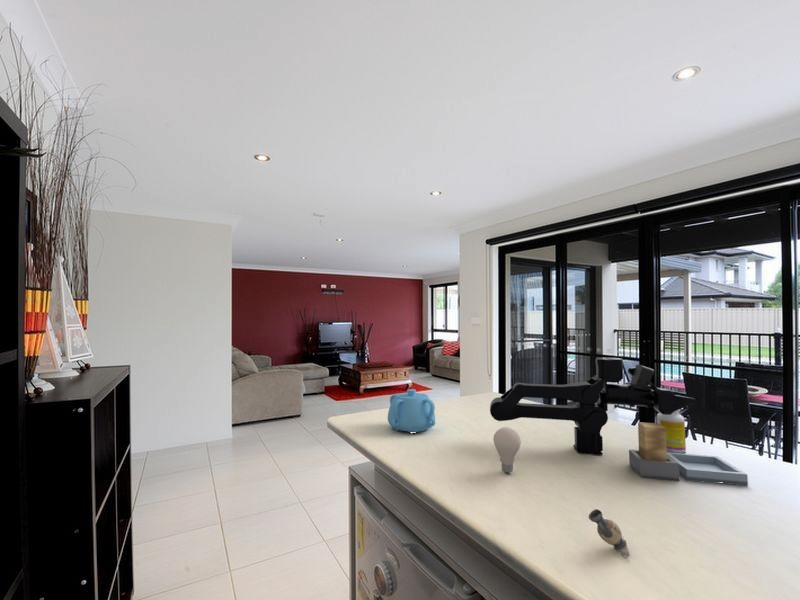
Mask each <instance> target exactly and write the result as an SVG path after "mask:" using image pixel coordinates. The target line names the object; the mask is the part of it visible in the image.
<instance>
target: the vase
mask: <svg viewBox="0 0 800 600" xmlns="http://www.w3.org/2000/svg"><path fill="white" fill-rule="evenodd" d="M588 519H589V520H590V522H594V523H596V525H597V527H596V530H597V533H598V536H599V537H600V539H601V540H603V541H604V542H605V544H606V543H607V544H608V545H611V546H613V548H614V550H615V551H617V552H618V553H619V552H620V553H622V554H624V555H622V554H620V553H619V554H620V555H619V557H620V556H621V559H622V560H623V557H624V556H625V557H624V558H631V555H630V551H629V549H628V545H627V544H628V543H627V541H626V539H625V537H624V536H623V533H622V530H621V528H620V527H619V525H618V524H617V523H616V521H615V522H614V520H611V519H608V518H607V519H605V518H604V517H603V513H602V511H601V510H599V509H596V508H595V509H593V510H592V511H590V513H589V514H588Z"/></svg>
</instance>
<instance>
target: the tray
mask: <svg viewBox="0 0 800 600" xmlns="http://www.w3.org/2000/svg"><path fill="white" fill-rule="evenodd" d="M667 455H668V456H670V457H671V458H672V459H673V460H675V461H676V462H677V463H679V476H681V477H682V478H684V479H685V480H686V481H692V482H693V481H694V482H701V481H704V482H703V483H713V482H723V483H722V484H724V483H732V484H731V485H735V484H739V485H738V486H746V485H748V486H749V480H748V474H747V473H746V472H744V471H743V470H741V469H739V468H737V467H736V466H734V465H732V464H731V463H730V462H727V461H726V460H724V459H723V458H721V457H720V456H717V455H703V454H694V453H693V454H692V453H671V452H667Z"/></svg>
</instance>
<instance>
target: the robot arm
mask: <svg viewBox="0 0 800 600" xmlns="http://www.w3.org/2000/svg"><path fill="white" fill-rule="evenodd" d="M623 361H624V360H623V358H622V357H621V358H619V357H602V358H595V367H596V375H593V376H592V377H590V378H589V379H587V380H586V381H576V382H570V383H566V384H551V383H550V384H548V383H544V384H543V383H526V382H525V383H523V382H515V383H514V384H513V386H512V387H511V388H509V389H508V390H506V392H504V393H503V394H502V395H501V396H499V397H494V398H493V399H492V400H491V402H490V406H489V412H490V413H489V414H490V415H491V417H492V418H493V419H494V421H495V420H496V421H498V422H506V421H512V420H516V419H521V418H523V419H525V418H526V419H540V420H541V419H542V420H559V421H571V422H574V424H575V426H574V428H573V429H574V444H573V445H572V446H573V448H574V449H575V451H576V453H577V454H583V455H596V456H603V450H604V447H603V446H604V443H603V435H602V434H601V430H602V429H603V427H604V426H605V425H606V424H607V422H609V421H608V420H609V416H608V413H607V412H608V405H615V406H616V405H619V406H629V407H630V408H635V407H636V406H638V407H645V408H647V409H648V408H649V409H651V408H653V409H654V410H656V412H658V413H661V414H665V415H671V414H672V413H673V412H674V411H677V410H679V409H680V410H681V409H683V408H687V407H689V406H691V405H694V404H696V400H697V399H696V398H694V397H688V396H683V395H680V393H679V392H678V391H674V390H670V389H668V388H661V387H656V385H654V384H653V383H652V382H651V380H652V377H653V376H654V374H655V370H654V369H653V368H650V367H647V366H644V365H642V364H635V365H634V366H633V367H631V366H630V367H628V370H627V373H628V374H629V375H630V379H631V380H630V382H626V381H625V383H624V384H620V382H622V380H623V379H624V366H623V365H624V363H623ZM524 398H530V399H531V398H532V399H534V398H535V399H553V400H554V399H555V400H556V399H557V400H566V401H570V402H573V403H575V404H572V405H563V404H561V405H560V404H543V403H527V402H526V403H525V402H520V401H521V400H522V399H524ZM652 404H653V405H652ZM652 406H653V407H652Z"/></svg>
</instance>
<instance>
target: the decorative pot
mask: <svg viewBox="0 0 800 600" xmlns="http://www.w3.org/2000/svg"><path fill="white" fill-rule="evenodd" d="M389 404H390V405H389V408H388V412H387V422H388V423H389V425H390V427H391V428H392V429H394V430H395V429H398V430H399V431H403V432H408V433H409V432H419V433H420V432H423V431H427V429H428V430H429V429H432V427H434V426H435V425H436V413H435V409H436V407H435V403H434V402H433V401H432V399H430V397H429V396H428V394H426V393H419V392H418V393H417V390H416V389H413V388H410V389H407V390H406V392H402V393H393V394H392V395H390V398H389ZM398 430H397V431H398Z"/></svg>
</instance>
